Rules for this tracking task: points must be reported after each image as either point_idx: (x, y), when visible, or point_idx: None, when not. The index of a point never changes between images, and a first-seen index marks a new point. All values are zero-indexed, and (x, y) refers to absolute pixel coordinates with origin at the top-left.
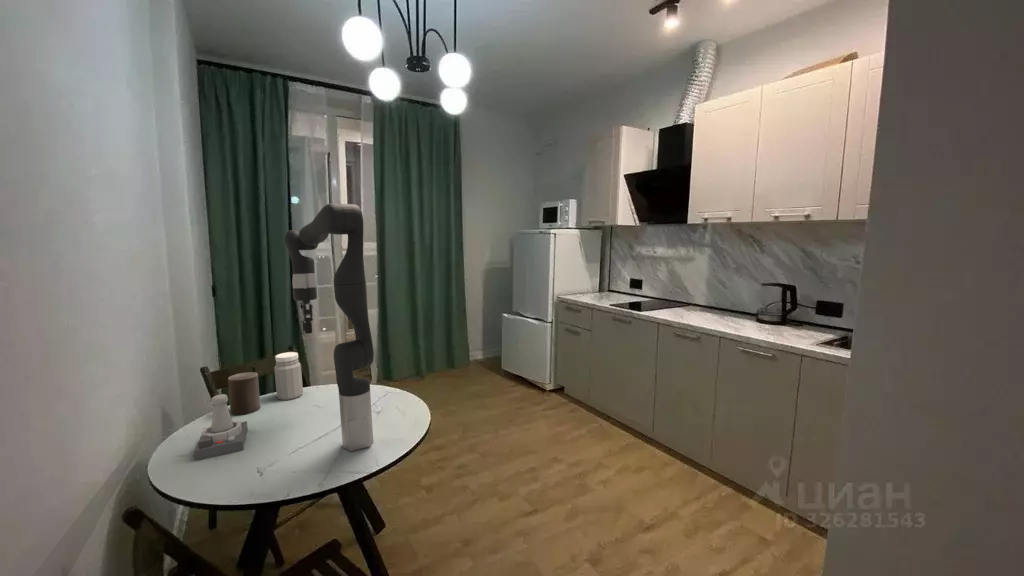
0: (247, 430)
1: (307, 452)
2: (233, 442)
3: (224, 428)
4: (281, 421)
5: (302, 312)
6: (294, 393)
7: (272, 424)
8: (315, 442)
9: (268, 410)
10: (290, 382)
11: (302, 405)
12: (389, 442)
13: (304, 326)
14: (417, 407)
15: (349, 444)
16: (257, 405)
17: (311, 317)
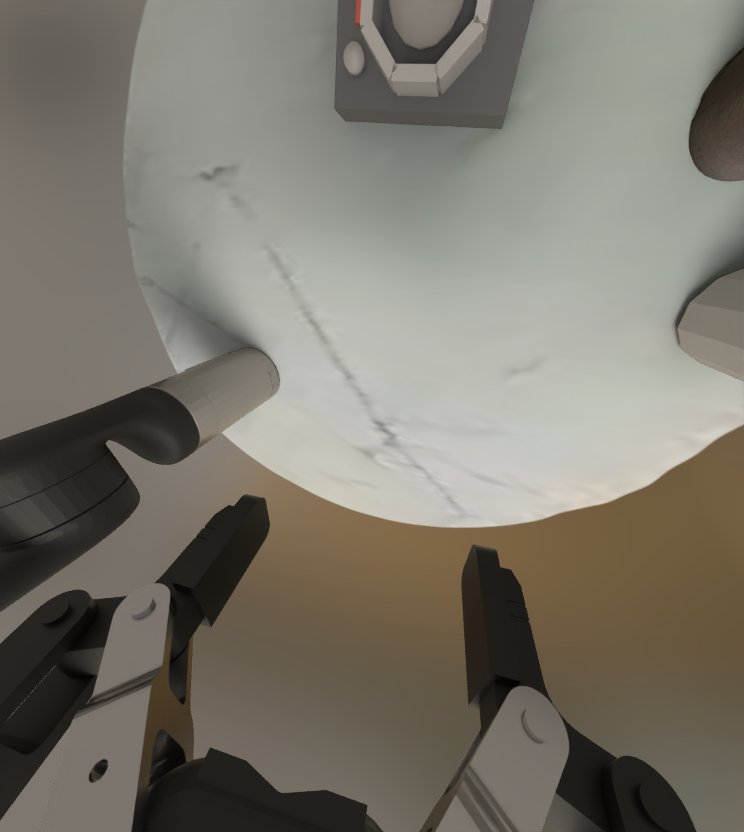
0: (489, 127)
1: (259, 283)
2: (336, 73)
3: (389, 3)
4: (482, 251)
5: (50, 819)
6: (686, 329)
7: (479, 220)
8: (295, 308)
9: (643, 215)
10: (732, 328)
11: (571, 333)
12: None
13: (476, 592)
14: (344, 504)
15: (219, 356)
16: (712, 163)
17: (53, 677)
